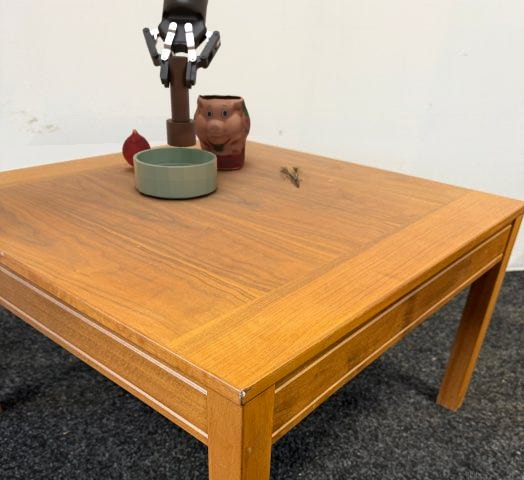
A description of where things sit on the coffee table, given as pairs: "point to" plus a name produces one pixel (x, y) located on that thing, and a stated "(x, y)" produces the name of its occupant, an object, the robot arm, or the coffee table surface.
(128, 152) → the onion
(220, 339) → the coffee table surface
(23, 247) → the coffee table surface
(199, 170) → the bowl
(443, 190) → the coffee table surface
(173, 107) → the pestle
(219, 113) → the decorative planter
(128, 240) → the coffee table surface
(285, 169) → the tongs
